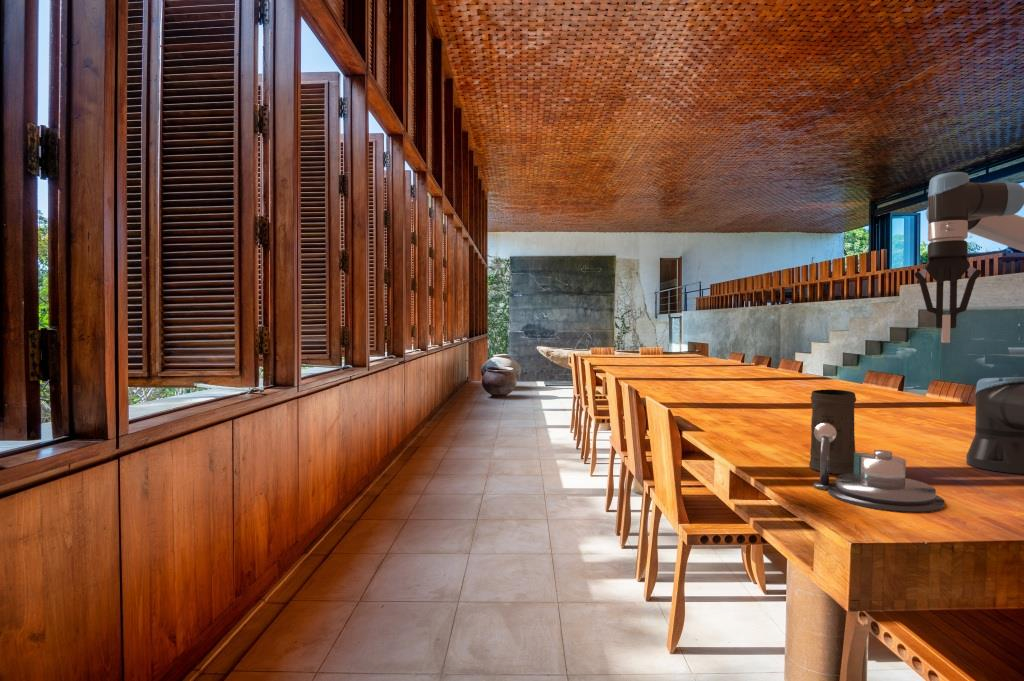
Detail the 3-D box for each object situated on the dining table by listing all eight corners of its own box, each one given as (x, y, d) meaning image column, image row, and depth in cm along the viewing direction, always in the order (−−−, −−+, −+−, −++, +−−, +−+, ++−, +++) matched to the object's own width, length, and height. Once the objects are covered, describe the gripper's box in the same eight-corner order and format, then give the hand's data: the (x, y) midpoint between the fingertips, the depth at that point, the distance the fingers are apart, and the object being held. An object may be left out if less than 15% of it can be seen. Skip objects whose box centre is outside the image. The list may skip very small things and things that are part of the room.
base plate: (904, 484, 137) (904, 481, 137) (970, 513, 116) (970, 509, 116) (810, 483, 138) (810, 480, 138) (859, 512, 117) (859, 508, 117)
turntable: (954, 507, 117) (955, 476, 117) (854, 503, 120) (855, 473, 120) (902, 479, 138) (902, 453, 138) (818, 476, 141) (818, 450, 141)
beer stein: (856, 477, 144) (857, 394, 143) (806, 471, 149) (807, 391, 149) (858, 465, 157) (859, 388, 156) (813, 460, 163) (813, 386, 162)
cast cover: (866, 477, 132) (867, 446, 132) (909, 484, 127) (910, 451, 126) (855, 484, 127) (856, 451, 126) (899, 492, 121) (900, 457, 121)
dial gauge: (815, 484, 138) (816, 420, 137) (837, 487, 135) (838, 422, 135) (811, 488, 134) (812, 423, 134) (833, 491, 132) (834, 425, 131)
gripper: (914, 241, 140) (912, 342, 141) (984, 237, 133) (982, 343, 134) (913, 245, 146) (911, 341, 147) (980, 241, 139) (978, 342, 140)
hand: (945, 342), depth 140 cm, fingers closed
